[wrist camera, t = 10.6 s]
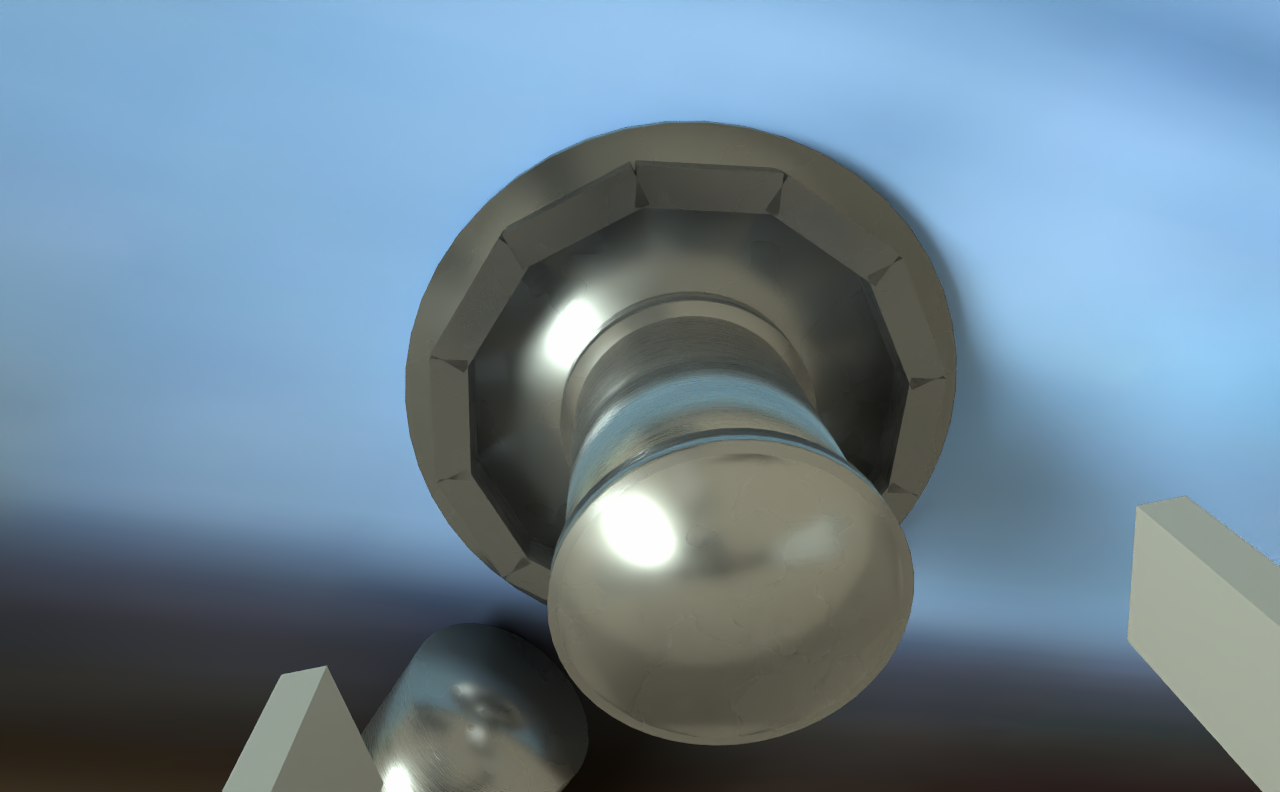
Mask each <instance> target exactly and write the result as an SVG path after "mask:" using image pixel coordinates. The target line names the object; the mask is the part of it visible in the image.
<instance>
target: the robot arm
mask: <svg viewBox="0 0 1280 792" xmlns="http://www.w3.org/2000/svg"><path fill="white" fill-rule="evenodd" d="M1127 641H1128V642H1129V643H1130V644H1131V645H1132V646H1133V647H1134V649H1135V650H1136V651H1137V652H1138V653H1139V654H1140V655H1141V656H1142V657H1143V659H1144V660H1145V661H1146V662H1147V663H1148V664H1149V665H1150V666H1151V668H1152V669H1153V670H1154V671H1155V672H1156V673H1157V674H1158V675H1159V676H1160V678H1161V679H1162V680H1163V681H1164V682H1165V683H1166V684H1167V685H1168V687H1169V688H1170V689H1171V690H1172V691H1173V692H1174V693H1175V694H1176V695H1177V697H1178V698H1179V699H1180V700H1181V701H1182V702H1183V703H1184V704H1185V706H1186V707H1187V708H1188V709H1189V710H1190V711H1191V712H1192V713H1193V714H1194V716H1195V717H1196V718H1197V719H1198V720H1199V721H1200V722H1201V723H1202V725H1203V726H1204V727H1205V728H1206V729H1207V730H1208V731H1209V732H1210V733H1211V735H1212V736H1213V737H1214V738H1215V739H1216V740H1217V741H1218V742H1219V744H1220V745H1221V746H1222V747H1223V748H1224V749H1225V750H1226V751H1227V752H1228V754H1229V755H1230V756H1231V757H1232V758H1233V759H1234V760H1235V761H1236V763H1237V764H1238V765H1239V766H1240V767H1241V768H1242V769H1243V770H1244V771H1245V773H1246V774H1247V775H1248V776H1249V777H1250V778H1251V779H1252V780H1253V782H1254V783H1255V784H1256V785H1257V786H1258V787H1259V788H1260V789H1261V790H1262V792H1280V567H1279V566H1278V565H1276V564H1275V563H1274V562H1273V561H1271V560H1270V559H1269V558H1267V557H1266V556H1265V555H1263V554H1262V553H1261V552H1259V551H1258V550H1257V549H1255V548H1254V547H1253V546H1251V545H1250V544H1249V543H1247V542H1246V541H1245V540H1244V539H1242V538H1241V537H1240V536H1238V535H1237V534H1236V533H1234V532H1233V531H1232V530H1230V529H1229V528H1228V527H1226V526H1225V525H1224V524H1222V523H1221V522H1220V521H1219V520H1217V519H1216V518H1215V517H1213V516H1212V515H1211V514H1209V513H1208V512H1207V511H1205V510H1204V509H1203V508H1201V507H1200V506H1199V505H1197V504H1196V503H1195V502H1194V501H1192V500H1191V499H1190V498H1188V497H1187V496H1182V497H1177V498H1172V499H1167V500H1162V501H1157V502H1152V503H1147V504H1142V505H1137V507H1136V521H1135V536H1134V550H1133V565H1132V579H1131V594H1130V608H1129V623H1128V637H1127ZM383 783H384V782H383V780H382V778H381V776H380V774H379V772H378V770H377V768H376V766H375V764H374V762H373V760H372V758H371V756H370V754H369V752H368V750H367V748H366V745H365V743H364V741H363V739H362V737H361V735H360V733H359V731H358V729H357V727H356V725H355V723H354V721H353V719H352V717H351V715H350V713H349V711H348V709H347V707H346V704H345V702H344V700H343V698H342V696H341V694H340V692H339V690H338V688H337V686H336V684H335V682H334V680H333V678H332V676H331V674H330V672H329V670H328V668H327V666H323V667H318V668H313V669H308V670H303V671H298V672H293V673H288V674H283V675H281V677H280V678H279V680H278V682H277V684H276V686H275V688H274V690H273V692H272V694H271V696H270V698H269V700H268V702H267V704H266V706H265V708H264V710H263V712H262V714H261V716H260V718H259V720H258V722H257V724H256V726H255V728H254V730H253V732H252V734H251V736H250V738H249V740H248V742H247V743H246V745H245V747H244V749H243V751H242V753H241V755H240V757H239V759H238V761H237V763H236V765H235V767H234V769H233V771H232V773H231V775H230V777H229V779H228V781H227V783H226V785H225V787H224V789H223V791H222V792H381V790H382V786H383Z"/></svg>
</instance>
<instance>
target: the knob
mask: <svg viewBox="0 0 1280 792" xmlns="http://www.w3.org/2000/svg"><path fill="white" fill-rule="evenodd" d="M560 435H561V441H562V446H563V451H564V454H565V457H566V460H567V463H568V465H569V467H570V476H569V487H568V498H567V510H566V521H565V526H564V528H563V530H562V533H561V535H560V537H559V539H558V542H557V544H556V548H555V552H554V556H553V559H552V563H551V572H550V581H549V591H548V601H547V607H548V623H549V628H550V632H551V636H552V641H553V644H554V646H555V649H556V651H557V654H558V656H559V659H560V661H561V663H562V664H563V666H564V668H565V669H566V671H567V673H568V675H569V676H570V678H571V679H572V680H573V681H574V683H575V684H576V685H577V686H578V687H579V689H580V690H581V691H582V692H583V693H584V694H585V695H586V696H587V697H588V698H589V699H590V700H591V701H592V702H593V703H594V704H596V705H597V706H598V707H599V708H601V709H602V710H604V711H605V712H606V713H608V714H609V715H611V716H612V717H614V718H615V719H617V720H619V721H621V722H623V723H625V724H626V725H628V726H630V727H632V728H635V729H637V730H640V731H642V732H645V733H647V734H650V735H653V736H657V737H660V738H664V739H667V740H671V741H677V742H683V743H689V744H701V745H736V744H743V743H751V742H758V741H762V740H766V739H771V738H775V737H779V736H782V735H785V734H788V733H791V732H794V731H797V730H800V729H802V728H804V727H806V726H808V725H811V724H813V723H815V722H817V721H819V720H821V719H823V718H824V717H826V716H828V715H830V714H831V713H833V712H835V711H836V710H838V709H840V708H841V707H842V706H844V705H845V704H846V703H848V702H849V701H850V700H852V699H853V698H854V697H856V696H857V695H858V694H859V693H860V692H861V691H862V690H863V689H864V688H865V687H867V686H868V685H869V684H870V683H871V682H872V681H873V679H874V678H875V677H876V676H877V675H878V674H879V672H880V671H881V670H882V669H883V668H884V667H885V665H886V664H887V662H888V660H889V659H890V657H891V656H892V654H893V653H894V651H895V650H896V648H897V646H898V644H899V642H900V640H901V638H902V635H903V633H904V631H905V628H906V625H907V622H908V619H909V616H910V613H911V607H912V600H913V594H914V571H913V565H912V558H911V553H910V550H909V547H908V544H907V541H906V538H905V535H904V533H903V531H902V529H901V527H900V525H899V523H898V521H897V519H896V518H895V516H894V514H893V513H892V511H891V510H890V508H889V506H888V505H887V503H886V502H885V500H884V499H883V497H882V496H881V495H880V493H879V492H878V491H877V489H876V488H875V487H874V485H873V484H872V483H871V482H870V481H869V480H868V479H867V478H866V477H865V476H864V475H863V474H862V473H861V472H860V471H859V470H858V469H857V468H856V467H855V466H853V465H852V464H850V463H849V462H848V461H847V460H846V458H845V457H844V455H843V453H842V452H841V450H840V449H839V447H838V445H837V444H836V442H835V441H834V439H833V437H832V436H831V434H830V432H829V431H828V429H827V428H826V426H825V424H824V423H823V421H822V420H821V418H820V416H819V415H818V413H817V411H816V398H815V393H814V388H813V384H812V381H811V379H810V376H809V373H808V370H807V368H806V367H805V365H804V363H803V361H802V359H801V357H800V356H799V354H798V353H797V351H796V350H795V348H794V347H793V345H792V344H791V343H790V341H789V340H788V338H787V337H786V336H785V334H784V333H783V332H782V331H781V330H780V329H779V328H778V327H777V326H776V325H775V324H774V323H773V322H772V321H771V320H770V319H768V318H767V317H766V316H765V315H763V314H762V313H761V312H759V311H757V310H756V309H754V308H752V307H750V306H749V305H747V304H745V303H743V302H740V301H737V300H735V299H732V298H730V297H726V296H722V295H718V294H714V293H706V292H697V291H689V292H673V293H666V294H661V295H657V296H653V297H650V298H646V299H644V300H641V301H639V302H636V303H634V304H632V305H629V306H628V307H626V308H624V309H623V310H621V311H619V312H617V313H616V314H614V315H613V316H612V317H610V318H609V319H608V320H606V321H605V322H604V323H602V324H601V325H600V326H599V327H598V328H597V329H596V330H595V331H594V332H593V333H592V334H591V335H590V336H589V338H588V339H587V340H586V342H585V343H584V344H583V346H582V347H581V348H580V350H579V352H578V353H577V355H576V357H575V359H574V360H573V362H572V365H571V367H570V370H569V372H568V375H567V378H566V382H565V386H564V390H563V396H562V404H561V414H560Z"/></svg>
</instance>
